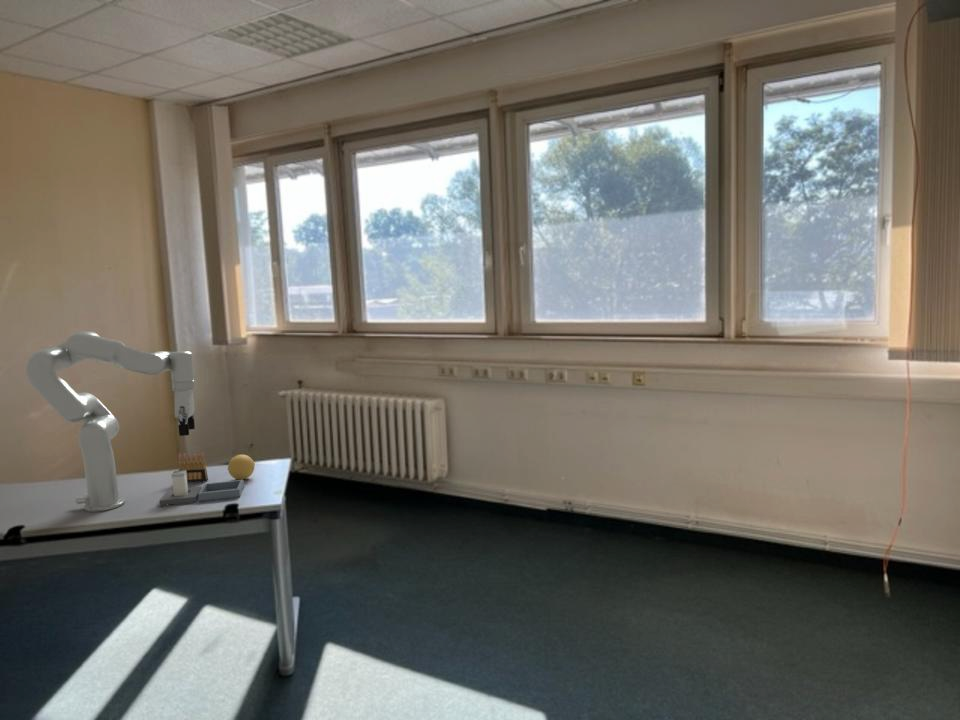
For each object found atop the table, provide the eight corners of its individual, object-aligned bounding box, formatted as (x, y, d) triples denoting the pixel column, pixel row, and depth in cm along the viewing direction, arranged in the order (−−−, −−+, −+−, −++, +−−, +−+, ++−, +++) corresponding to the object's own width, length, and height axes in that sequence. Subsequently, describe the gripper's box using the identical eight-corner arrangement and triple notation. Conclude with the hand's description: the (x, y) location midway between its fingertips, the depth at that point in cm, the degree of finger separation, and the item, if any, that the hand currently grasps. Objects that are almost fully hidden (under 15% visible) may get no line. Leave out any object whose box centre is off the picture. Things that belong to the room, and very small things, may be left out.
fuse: (174, 501, 236) (171, 474, 235) (177, 497, 240) (174, 471, 239) (186, 499, 237) (183, 473, 236) (189, 496, 241) (186, 470, 240)
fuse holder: (159, 506, 231) (159, 500, 231) (168, 495, 243) (167, 490, 243) (195, 502, 234) (195, 496, 234) (202, 491, 246) (201, 486, 245)
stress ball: (250, 484, 255) (264, 463, 261) (231, 470, 250) (246, 448, 255) (236, 484, 261) (250, 463, 267) (218, 470, 256) (232, 449, 262)
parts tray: (198, 501, 234) (198, 493, 234) (205, 491, 246) (204, 483, 245) (240, 497, 237) (239, 489, 237) (244, 487, 249) (243, 479, 248)
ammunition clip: (208, 480, 260) (205, 451, 258) (206, 481, 258) (203, 452, 256) (181, 481, 260) (178, 452, 258) (179, 483, 258) (176, 453, 256)
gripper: (177, 382, 242) (181, 427, 244) (166, 390, 225) (170, 438, 227) (199, 381, 243) (202, 426, 246) (189, 388, 227) (193, 437, 229)
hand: (187, 432), depth 236 cm, fingers open, 9 cm apart
